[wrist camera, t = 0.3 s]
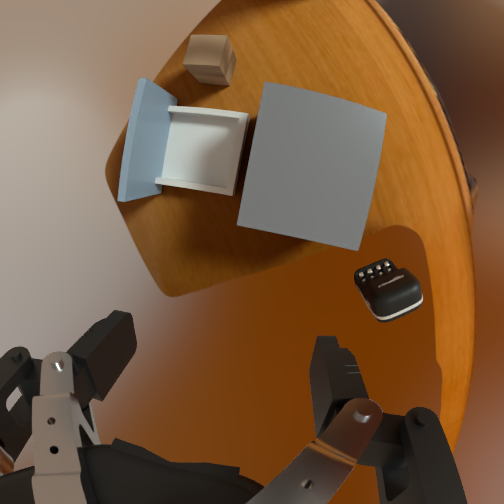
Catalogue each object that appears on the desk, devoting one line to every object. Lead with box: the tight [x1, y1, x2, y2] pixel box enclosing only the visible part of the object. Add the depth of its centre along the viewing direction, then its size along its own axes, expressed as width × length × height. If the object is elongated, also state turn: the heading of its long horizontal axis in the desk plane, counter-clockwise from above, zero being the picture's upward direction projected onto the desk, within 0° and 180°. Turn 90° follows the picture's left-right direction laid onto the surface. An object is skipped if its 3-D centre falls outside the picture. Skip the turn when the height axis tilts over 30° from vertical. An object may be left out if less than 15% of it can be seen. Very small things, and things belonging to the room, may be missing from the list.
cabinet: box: [237, 82, 387, 251], centre depth 29 cm, size 14×12×12 cm
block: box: [183, 35, 236, 86], centre depth 28 cm, size 4×4×8 cm
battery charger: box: [354, 258, 423, 323], centre depth 33 cm, size 7×4×11 cm, turn 113°
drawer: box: [118, 78, 250, 202], centre depth 30 cm, size 14×12×11 cm
